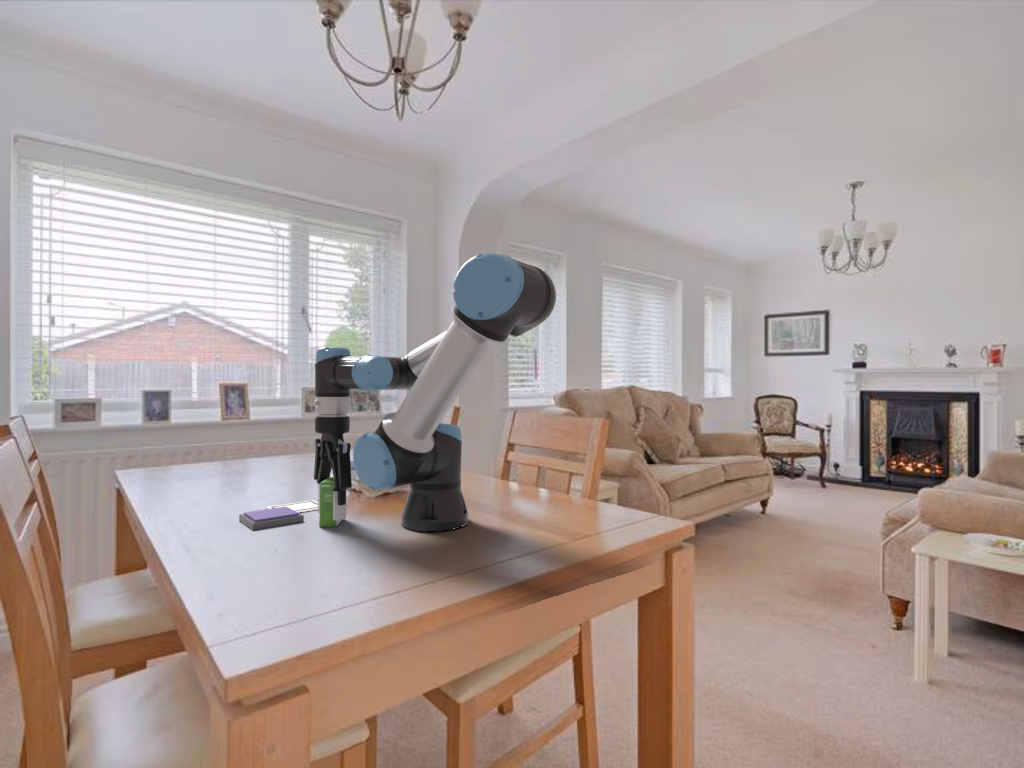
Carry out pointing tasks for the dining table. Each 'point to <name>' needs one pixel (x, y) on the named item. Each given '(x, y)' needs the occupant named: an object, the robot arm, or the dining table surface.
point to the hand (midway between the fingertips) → (331, 515)
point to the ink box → (327, 503)
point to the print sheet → (299, 506)
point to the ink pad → (270, 517)
